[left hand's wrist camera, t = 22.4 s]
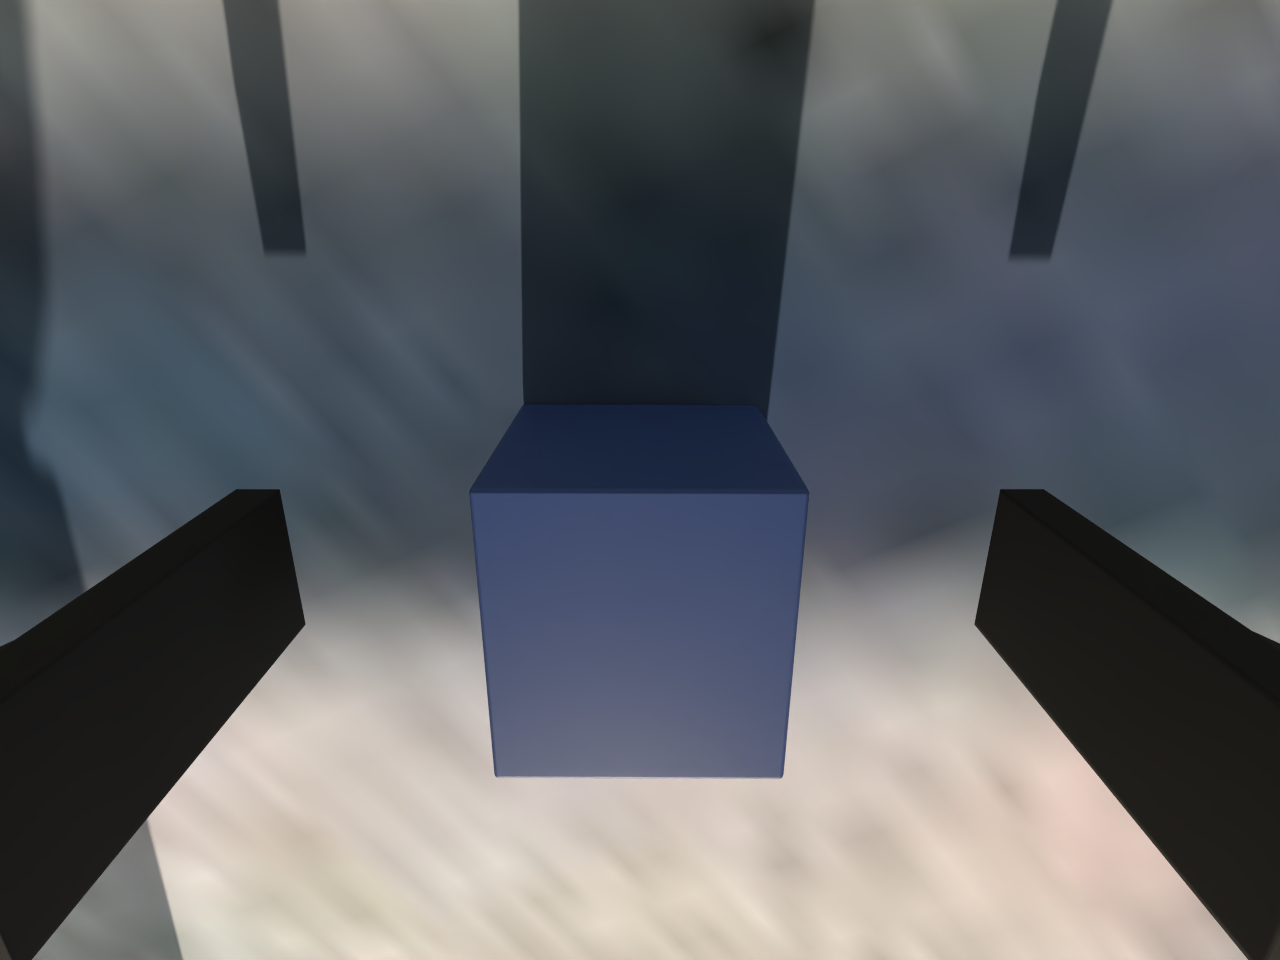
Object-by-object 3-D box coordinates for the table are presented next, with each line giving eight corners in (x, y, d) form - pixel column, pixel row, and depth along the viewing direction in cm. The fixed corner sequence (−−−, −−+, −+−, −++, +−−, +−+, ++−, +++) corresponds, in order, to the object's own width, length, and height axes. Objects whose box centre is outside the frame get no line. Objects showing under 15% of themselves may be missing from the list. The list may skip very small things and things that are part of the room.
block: (757, 403, 13) (810, 489, 9) (744, 623, 15) (784, 780, 11) (522, 403, 13) (467, 489, 9) (535, 622, 15) (493, 779, 11)
